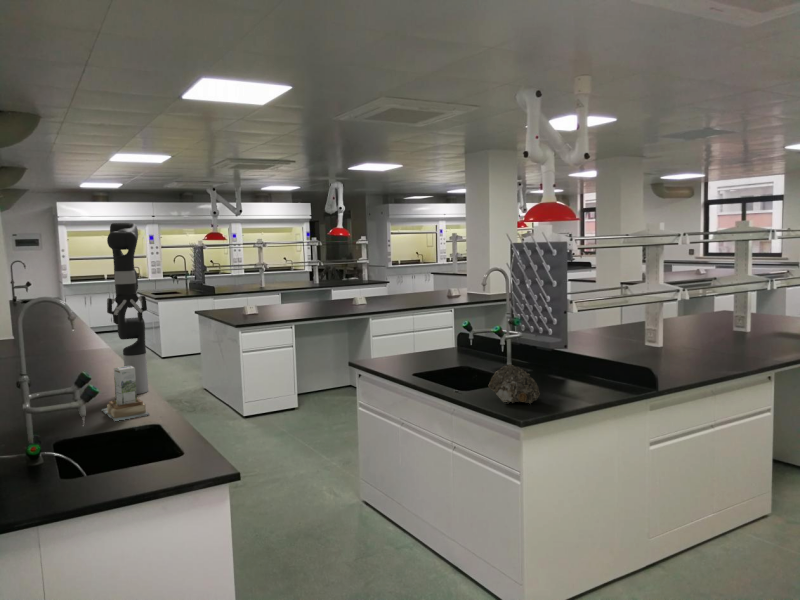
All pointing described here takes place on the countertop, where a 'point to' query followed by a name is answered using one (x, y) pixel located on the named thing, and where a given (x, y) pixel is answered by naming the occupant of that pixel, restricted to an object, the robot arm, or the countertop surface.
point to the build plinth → (125, 410)
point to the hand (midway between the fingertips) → (128, 323)
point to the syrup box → (125, 385)
